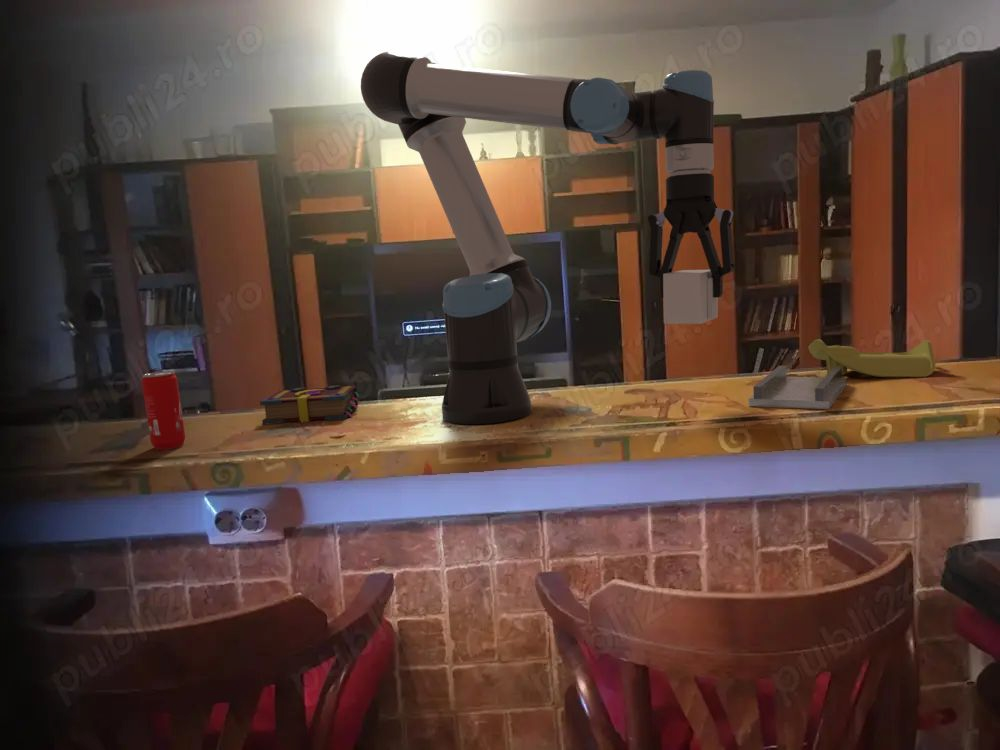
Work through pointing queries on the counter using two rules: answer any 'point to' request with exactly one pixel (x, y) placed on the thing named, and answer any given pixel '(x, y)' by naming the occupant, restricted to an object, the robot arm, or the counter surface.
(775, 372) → the grey channel bracket
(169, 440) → the beverage can
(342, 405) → the decorative book
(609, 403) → the counter surface
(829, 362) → the plastic component
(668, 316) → the block
